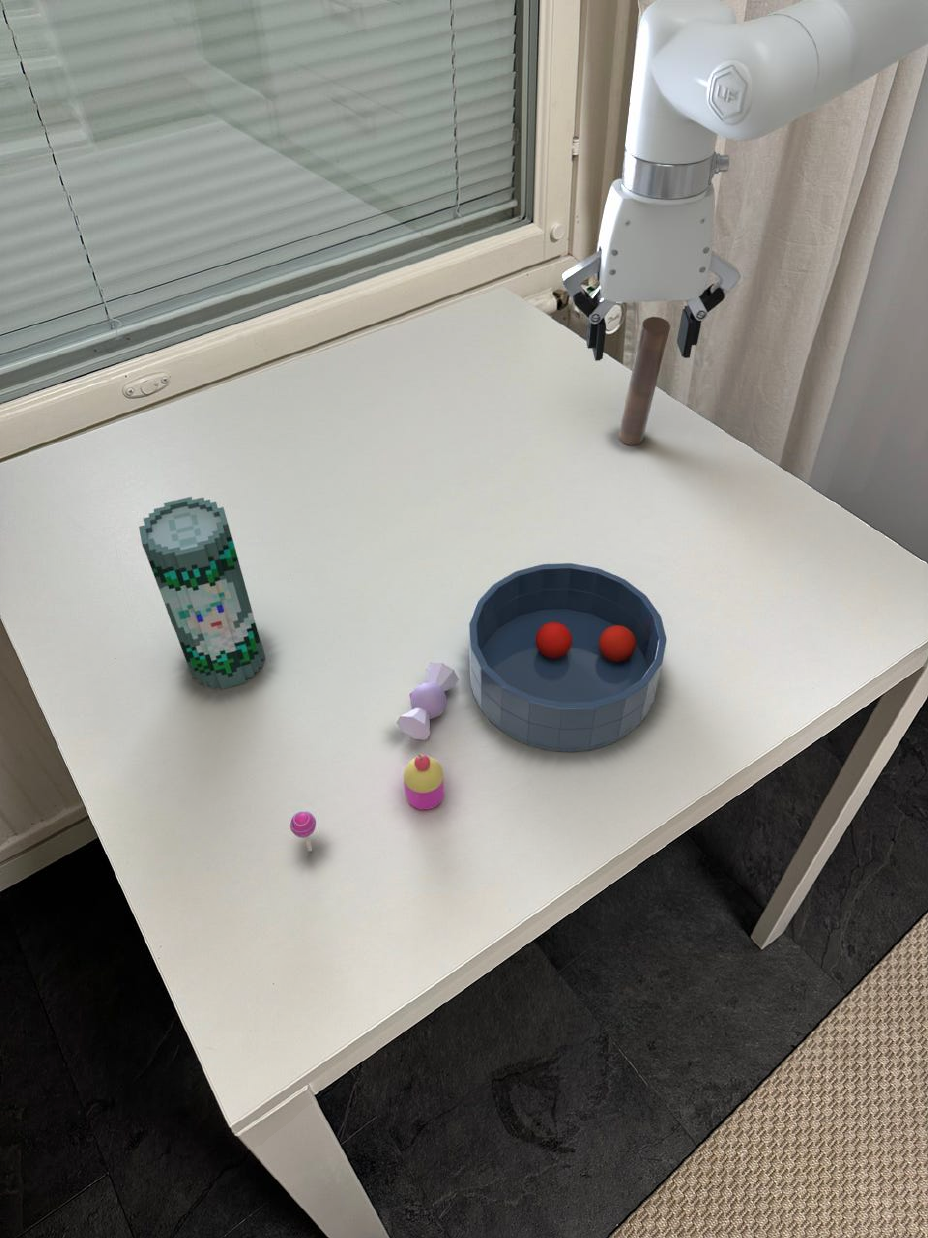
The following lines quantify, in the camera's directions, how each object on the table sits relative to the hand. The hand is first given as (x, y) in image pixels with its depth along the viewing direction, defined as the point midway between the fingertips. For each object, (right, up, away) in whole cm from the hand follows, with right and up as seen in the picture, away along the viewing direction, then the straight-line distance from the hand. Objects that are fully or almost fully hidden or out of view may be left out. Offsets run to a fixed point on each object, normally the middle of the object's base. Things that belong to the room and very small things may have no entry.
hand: (639, 351), depth 90 cm
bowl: (-10, -32, -16) cm, 37 cm away
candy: (-23, -39, -22) cm, 50 cm away
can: (-38, -31, -15) cm, 51 cm away
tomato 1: (-10, -29, -16) cm, 35 cm away
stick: (0, -7, +6) cm, 9 cm away
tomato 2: (-5, -29, -17) cm, 34 cm away
